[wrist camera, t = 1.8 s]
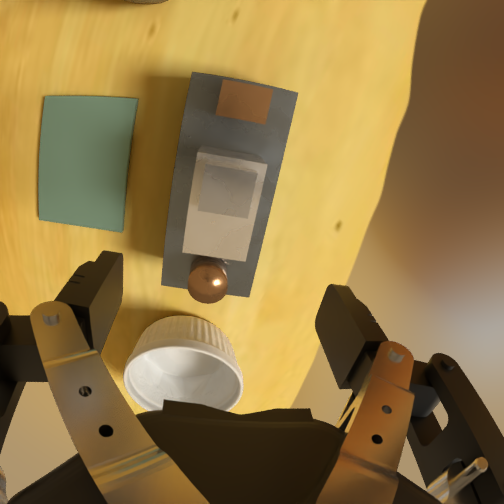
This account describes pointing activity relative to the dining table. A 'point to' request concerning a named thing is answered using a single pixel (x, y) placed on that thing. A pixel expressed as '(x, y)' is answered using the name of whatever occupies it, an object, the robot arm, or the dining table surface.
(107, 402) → the robot arm
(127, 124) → the mat
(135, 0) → the squeeze bottle
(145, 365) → the ramekin
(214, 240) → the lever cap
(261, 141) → the plane body
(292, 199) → the dining table surface
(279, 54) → the dining table surface
